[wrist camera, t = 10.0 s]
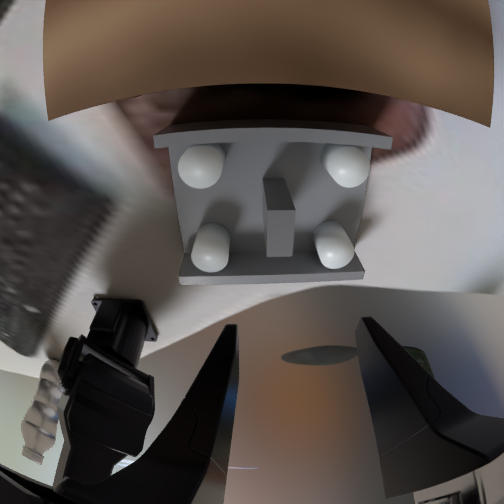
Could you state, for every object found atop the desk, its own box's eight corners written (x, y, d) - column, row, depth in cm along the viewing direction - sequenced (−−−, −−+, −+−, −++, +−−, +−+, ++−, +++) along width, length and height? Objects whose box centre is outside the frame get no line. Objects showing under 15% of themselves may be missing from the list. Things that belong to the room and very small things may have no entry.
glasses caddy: (348, 249, 23) (371, 298, 18) (188, 253, 23) (174, 305, 18) (367, 125, 17) (410, 146, 12) (170, 124, 17) (139, 144, 12)
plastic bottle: (54, 369, 38) (26, 456, 22) (41, 350, 34) (6, 445, 18) (81, 379, 39) (56, 472, 22) (69, 360, 35) (37, 463, 19)
